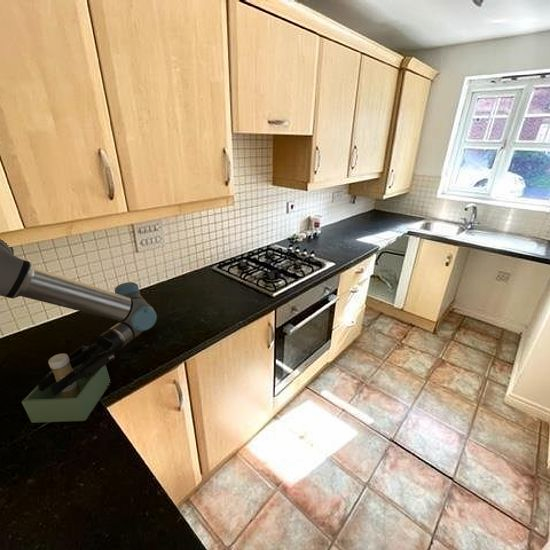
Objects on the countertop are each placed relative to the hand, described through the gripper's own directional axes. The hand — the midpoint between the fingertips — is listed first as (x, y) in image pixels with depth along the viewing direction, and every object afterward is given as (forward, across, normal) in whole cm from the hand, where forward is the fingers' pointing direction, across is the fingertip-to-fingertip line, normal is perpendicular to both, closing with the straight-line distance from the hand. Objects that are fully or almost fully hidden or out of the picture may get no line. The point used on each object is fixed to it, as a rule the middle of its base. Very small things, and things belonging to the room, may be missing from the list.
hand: (46, 389), depth 80 cm
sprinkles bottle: (-5, 0, -7) cm, 9 cm away
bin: (-5, 0, -9) cm, 11 cm away
